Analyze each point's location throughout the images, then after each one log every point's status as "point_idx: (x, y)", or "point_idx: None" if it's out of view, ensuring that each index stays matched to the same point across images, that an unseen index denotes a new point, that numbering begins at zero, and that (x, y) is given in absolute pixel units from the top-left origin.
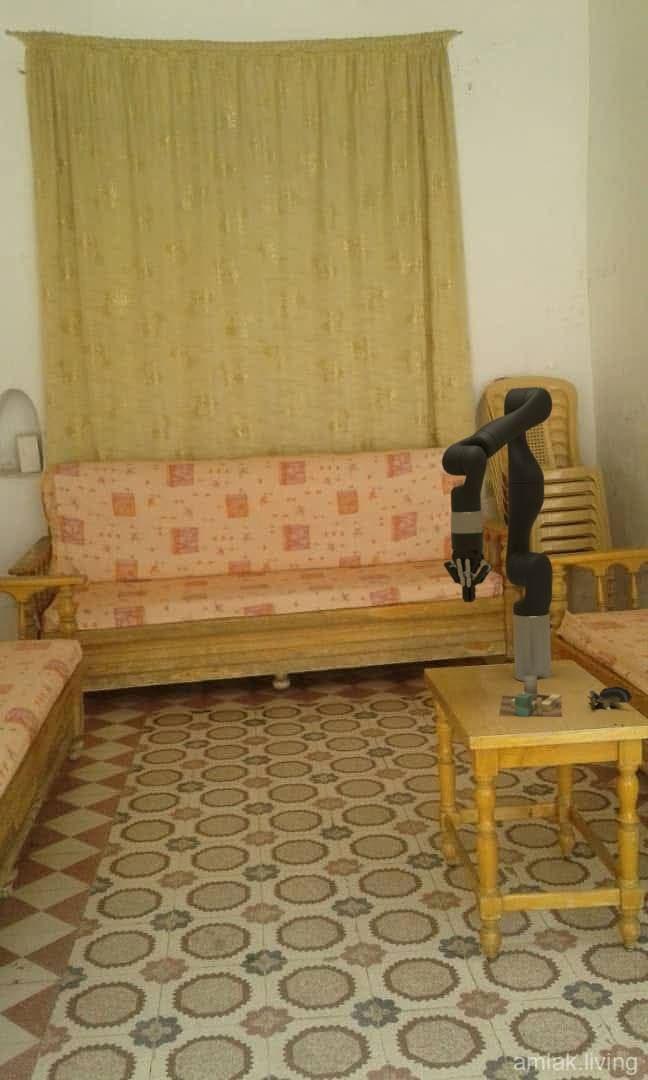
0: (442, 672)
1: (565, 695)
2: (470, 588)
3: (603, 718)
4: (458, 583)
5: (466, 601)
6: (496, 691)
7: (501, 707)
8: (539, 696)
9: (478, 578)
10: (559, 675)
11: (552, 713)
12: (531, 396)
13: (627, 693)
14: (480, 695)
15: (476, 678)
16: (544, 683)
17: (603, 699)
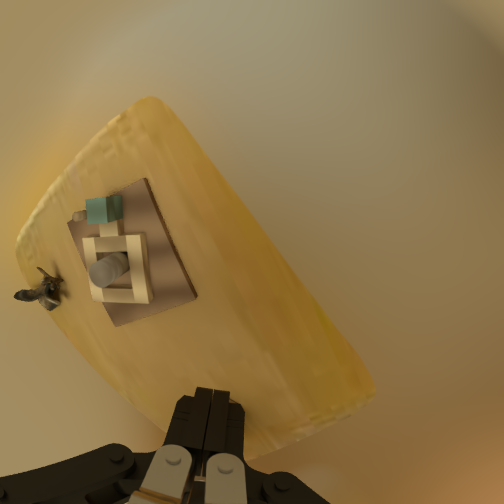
0: (359, 392)
1: (129, 351)
2: (175, 443)
3: (44, 261)
4: (272, 476)
5: (215, 390)
6: (233, 341)
7: (160, 228)
8: (119, 287)
9: (76, 467)
10: None
11: (82, 232)
12: None
13: (16, 294)
14: (248, 310)
15: (298, 389)
16: None
17: (41, 290)
